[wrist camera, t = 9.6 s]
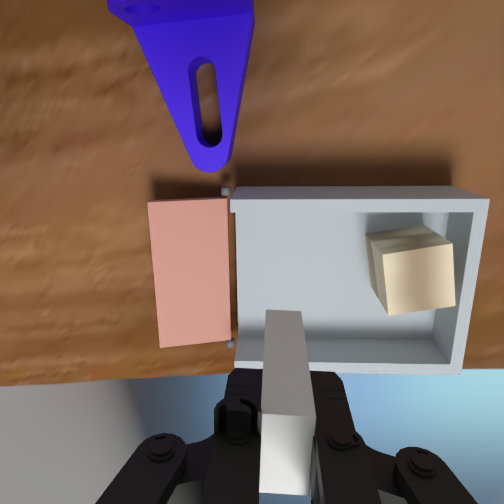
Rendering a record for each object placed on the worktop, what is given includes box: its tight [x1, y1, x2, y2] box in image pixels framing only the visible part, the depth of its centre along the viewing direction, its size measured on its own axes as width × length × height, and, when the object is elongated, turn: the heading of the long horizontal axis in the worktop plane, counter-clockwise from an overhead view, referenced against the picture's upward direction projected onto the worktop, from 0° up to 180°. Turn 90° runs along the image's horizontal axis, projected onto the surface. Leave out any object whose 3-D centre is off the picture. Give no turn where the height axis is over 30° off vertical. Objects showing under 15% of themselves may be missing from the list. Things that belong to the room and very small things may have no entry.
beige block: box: [365, 225, 455, 316], centre depth 40 cm, size 6×6×7 cm
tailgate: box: [147, 197, 231, 348], centre depth 45 cm, size 8×16×2 cm, turn 1°
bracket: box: [107, 0, 255, 172], centre depth 36 cm, size 18×11×12 cm, turn 6°
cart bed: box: [221, 186, 490, 375], centre depth 43 cm, size 24×19×8 cm
